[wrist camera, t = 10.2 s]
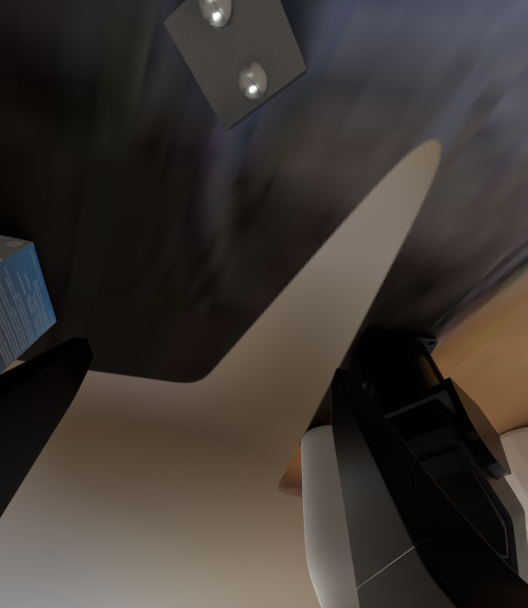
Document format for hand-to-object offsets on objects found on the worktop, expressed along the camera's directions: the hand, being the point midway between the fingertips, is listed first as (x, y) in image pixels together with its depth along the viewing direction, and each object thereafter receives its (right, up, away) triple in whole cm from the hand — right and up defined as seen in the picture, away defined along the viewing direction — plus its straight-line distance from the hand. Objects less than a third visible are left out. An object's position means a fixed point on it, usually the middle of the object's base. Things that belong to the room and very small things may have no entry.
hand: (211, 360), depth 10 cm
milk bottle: (+11, -16, +26) cm, 32 cm away
